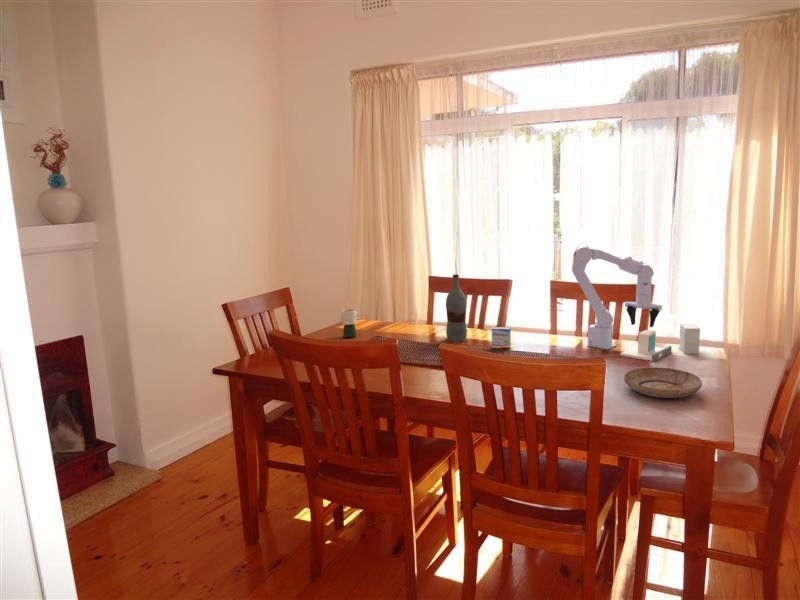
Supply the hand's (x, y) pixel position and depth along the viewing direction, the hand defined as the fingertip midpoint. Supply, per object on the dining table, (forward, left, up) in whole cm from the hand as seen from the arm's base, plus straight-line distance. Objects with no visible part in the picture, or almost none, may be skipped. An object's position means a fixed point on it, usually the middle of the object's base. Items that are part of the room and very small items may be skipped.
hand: (642, 325), depth 249 cm
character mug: (-113, -63, -10) cm, 130 cm away
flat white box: (+5, -8, -9) cm, 13 cm away
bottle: (-69, -37, -10) cm, 79 cm away
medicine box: (-46, -35, -10) cm, 59 cm away
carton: (+5, -8, -8) cm, 13 cm away
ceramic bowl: (+27, -48, -10) cm, 56 cm away
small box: (+17, +5, -10) cm, 20 cm away
